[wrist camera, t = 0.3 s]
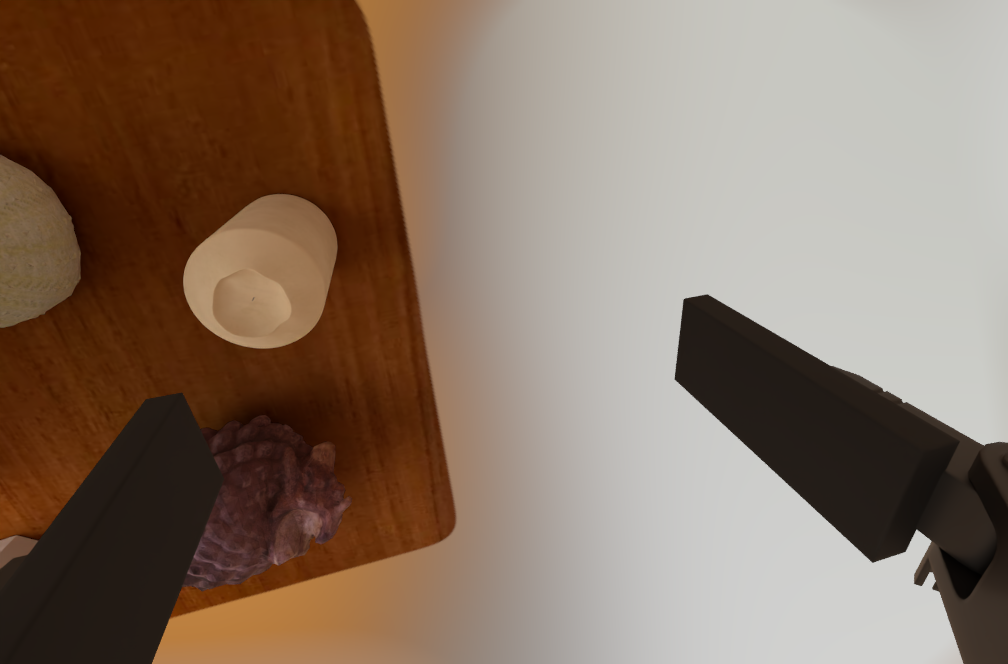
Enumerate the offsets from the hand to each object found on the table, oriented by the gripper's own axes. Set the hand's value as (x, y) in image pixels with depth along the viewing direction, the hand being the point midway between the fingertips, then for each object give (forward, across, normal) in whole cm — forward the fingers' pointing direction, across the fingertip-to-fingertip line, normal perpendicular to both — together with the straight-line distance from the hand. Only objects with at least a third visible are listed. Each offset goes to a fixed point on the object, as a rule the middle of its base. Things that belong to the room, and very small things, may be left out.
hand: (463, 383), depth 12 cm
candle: (+19, -7, 0) cm, 20 cm away
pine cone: (+19, -15, -15) cm, 28 cm away
